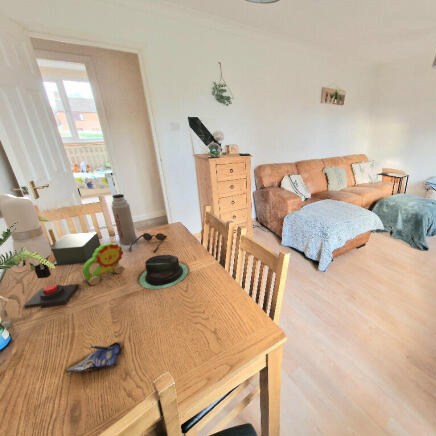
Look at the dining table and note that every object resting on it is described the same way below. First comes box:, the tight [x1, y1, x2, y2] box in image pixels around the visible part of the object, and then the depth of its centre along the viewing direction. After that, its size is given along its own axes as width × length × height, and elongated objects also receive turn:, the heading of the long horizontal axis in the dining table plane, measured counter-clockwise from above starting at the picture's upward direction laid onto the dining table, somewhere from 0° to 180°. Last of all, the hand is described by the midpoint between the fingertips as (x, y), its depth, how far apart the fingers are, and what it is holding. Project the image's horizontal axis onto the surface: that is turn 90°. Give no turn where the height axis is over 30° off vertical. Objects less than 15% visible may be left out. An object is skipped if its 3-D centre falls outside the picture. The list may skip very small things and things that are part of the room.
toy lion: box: [82, 242, 124, 286], centre depth 105 cm, size 16×5×15 cm, turn 155°
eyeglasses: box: [129, 232, 168, 253], centre depth 133 cm, size 15×15×5 cm
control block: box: [23, 283, 80, 309], centre depth 93 cm, size 12×10×4 cm
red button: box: [43, 284, 58, 294], centre depth 92 cm, size 4×4×2 cm
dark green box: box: [50, 231, 102, 267], centre depth 120 cm, size 14×16×9 cm
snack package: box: [65, 342, 122, 373], centre depth 70 cm, size 12×6×12 cm
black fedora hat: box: [138, 253, 189, 290], centre depth 110 cm, size 15×19×20 cm
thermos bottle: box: [111, 193, 138, 246], centre depth 132 cm, size 8×8×28 cm
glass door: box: [47, 228, 57, 244], centre depth 120 cm, size 3×7×14 cm, turn 17°
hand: (44, 276), depth 89 cm, fingers closed
